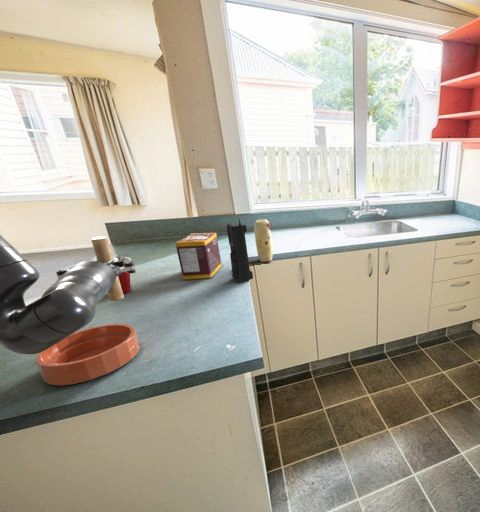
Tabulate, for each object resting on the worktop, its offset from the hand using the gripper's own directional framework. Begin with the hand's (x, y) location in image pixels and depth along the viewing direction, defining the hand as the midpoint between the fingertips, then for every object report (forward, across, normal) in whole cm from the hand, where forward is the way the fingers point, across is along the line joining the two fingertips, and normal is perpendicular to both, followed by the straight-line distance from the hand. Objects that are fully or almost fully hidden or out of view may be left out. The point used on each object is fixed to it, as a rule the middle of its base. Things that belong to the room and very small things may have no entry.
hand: (109, 260), depth 74 cm
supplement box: (+46, -16, +22) cm, 53 cm away
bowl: (-10, +5, +22) cm, 25 cm away
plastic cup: (+36, +10, +22) cm, 43 cm away
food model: (+51, -42, +22) cm, 70 cm away
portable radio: (+31, -30, +22) cm, 48 cm away
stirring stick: (-3, 0, +10) cm, 10 cm away
